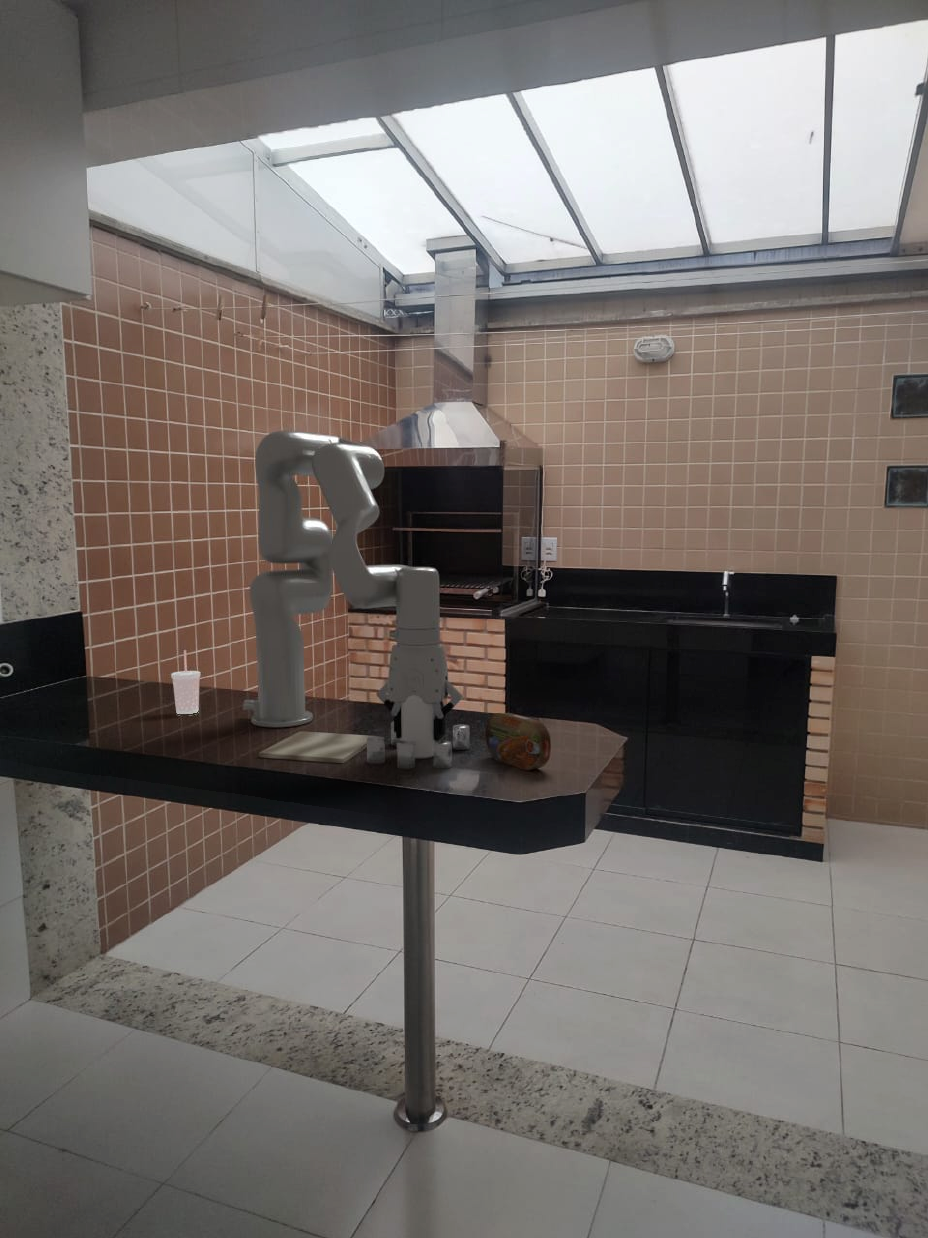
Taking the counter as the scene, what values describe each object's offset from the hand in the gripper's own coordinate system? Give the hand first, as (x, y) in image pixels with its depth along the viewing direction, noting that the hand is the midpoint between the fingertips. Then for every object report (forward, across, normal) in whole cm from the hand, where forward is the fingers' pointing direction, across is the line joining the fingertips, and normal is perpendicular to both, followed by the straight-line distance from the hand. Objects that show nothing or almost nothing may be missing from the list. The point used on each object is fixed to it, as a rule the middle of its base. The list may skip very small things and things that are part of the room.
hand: (419, 737), depth 144 cm
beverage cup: (+3, -60, +20) cm, 63 cm away
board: (+3, -19, 0) cm, 19 cm away
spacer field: (+3, 0, 0) cm, 3 cm away
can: (+3, 0, 0) cm, 3 cm away
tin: (+3, +18, -2) cm, 18 cm away
